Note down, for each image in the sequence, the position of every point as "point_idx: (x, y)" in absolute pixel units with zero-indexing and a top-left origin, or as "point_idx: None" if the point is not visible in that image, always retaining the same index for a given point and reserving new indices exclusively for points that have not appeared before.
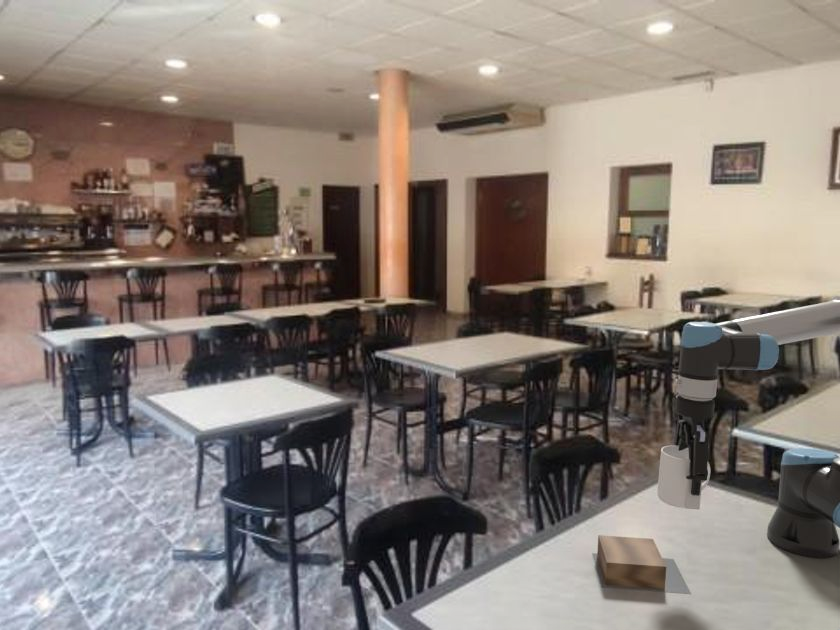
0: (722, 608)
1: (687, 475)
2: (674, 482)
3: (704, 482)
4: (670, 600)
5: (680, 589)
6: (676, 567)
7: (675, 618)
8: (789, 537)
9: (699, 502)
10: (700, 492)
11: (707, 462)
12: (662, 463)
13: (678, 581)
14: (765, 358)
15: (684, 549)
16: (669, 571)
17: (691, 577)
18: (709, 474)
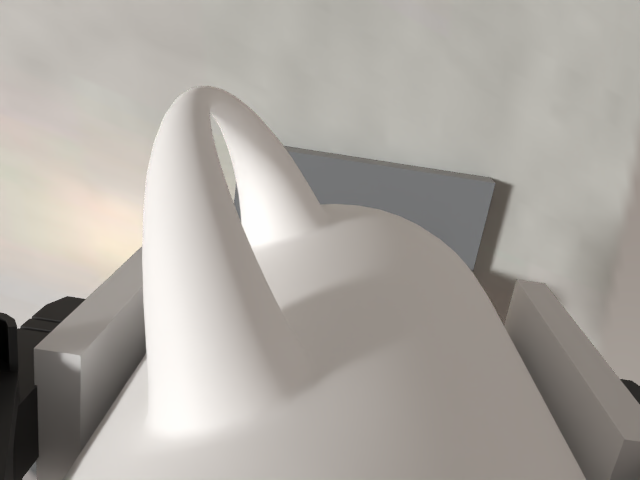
0: (560, 85)
1: None
2: None
3: (245, 142)
4: (489, 250)
5: (464, 210)
6: (307, 159)
7: (590, 275)
8: None
9: (561, 312)
10: (597, 359)
11: (226, 216)
12: None
13: (409, 195)
14: None
15: (117, 37)
16: (336, 198)
17: (343, 108)
18: (214, 99)
